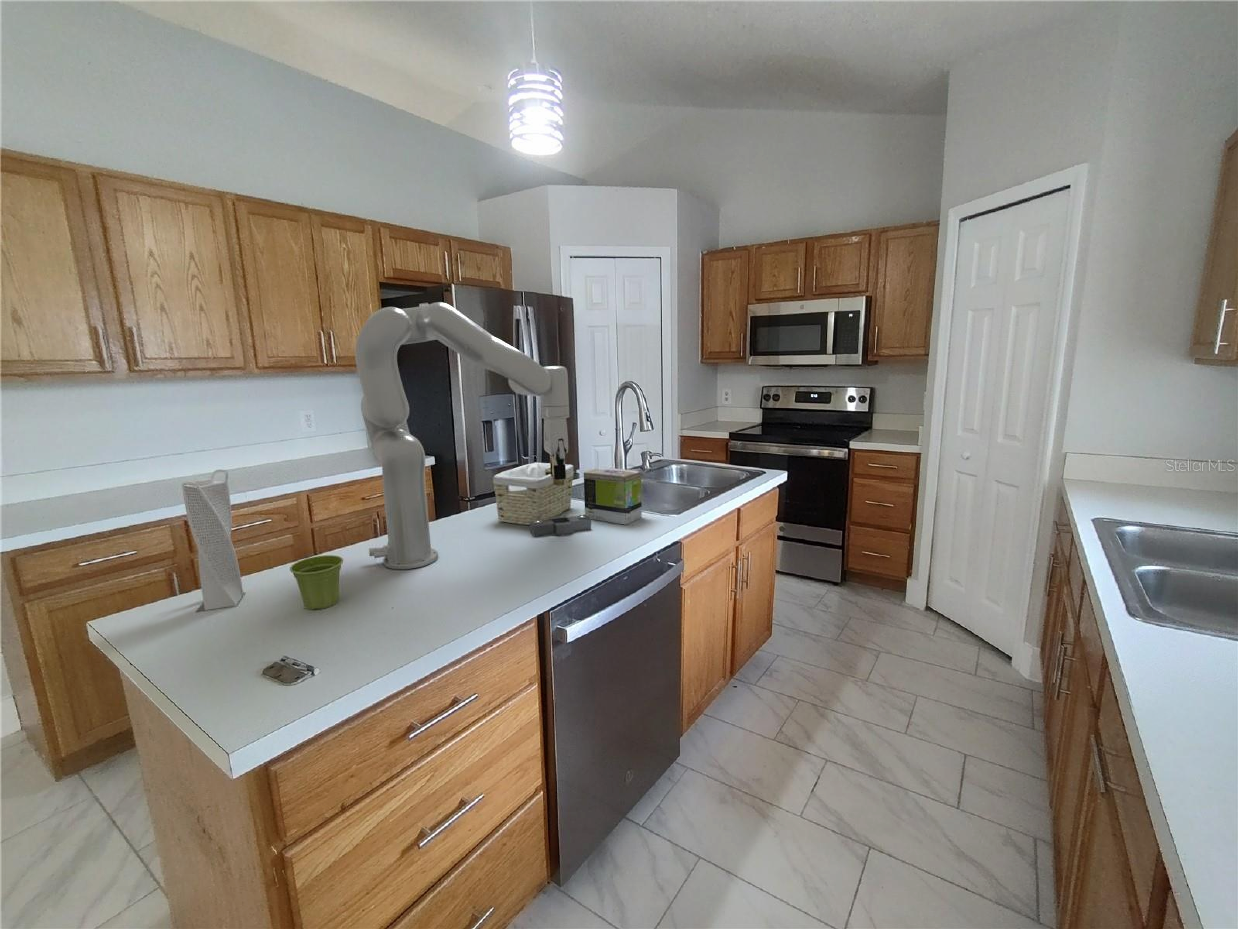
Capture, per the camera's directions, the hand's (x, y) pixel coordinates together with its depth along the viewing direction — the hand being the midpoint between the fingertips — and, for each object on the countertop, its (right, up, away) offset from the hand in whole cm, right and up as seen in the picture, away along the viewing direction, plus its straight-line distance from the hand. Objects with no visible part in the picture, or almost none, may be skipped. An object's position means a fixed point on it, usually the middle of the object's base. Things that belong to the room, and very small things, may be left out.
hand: (558, 477), depth 154 cm
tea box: (+15, -13, +15) cm, 25 cm away
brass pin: (0, -2, 0) cm, 2 cm away
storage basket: (-9, -13, +19) cm, 25 cm away
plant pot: (-44, -25, -41) cm, 65 cm away
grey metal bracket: (0, -15, +3) cm, 16 cm away
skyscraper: (-64, -25, -40) cm, 80 cm away
